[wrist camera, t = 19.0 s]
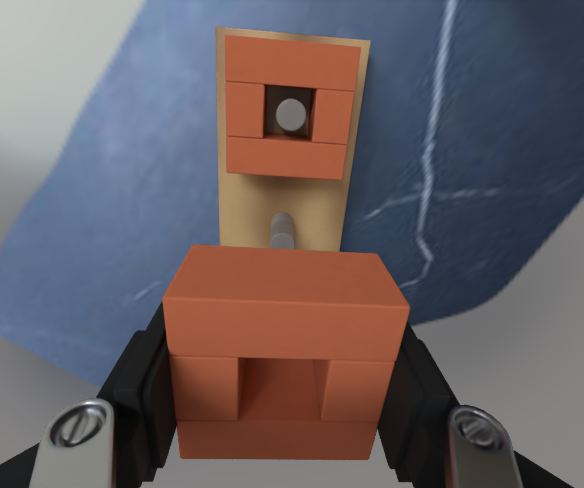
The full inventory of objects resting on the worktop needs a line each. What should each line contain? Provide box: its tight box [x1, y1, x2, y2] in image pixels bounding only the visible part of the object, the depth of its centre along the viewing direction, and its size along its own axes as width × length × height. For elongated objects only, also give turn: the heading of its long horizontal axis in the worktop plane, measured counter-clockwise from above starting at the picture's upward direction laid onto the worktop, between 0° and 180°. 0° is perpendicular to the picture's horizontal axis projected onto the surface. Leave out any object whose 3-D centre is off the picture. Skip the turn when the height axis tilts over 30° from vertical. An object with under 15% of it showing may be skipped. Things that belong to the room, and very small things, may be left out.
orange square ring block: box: [162, 245, 410, 460], centre depth 10 cm, size 6×6×3 cm
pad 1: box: [225, 35, 361, 180], centre depth 17 cm, size 6×6×3 cm
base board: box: [215, 27, 371, 252], centre depth 19 cm, size 8×14×5 cm, turn 176°
